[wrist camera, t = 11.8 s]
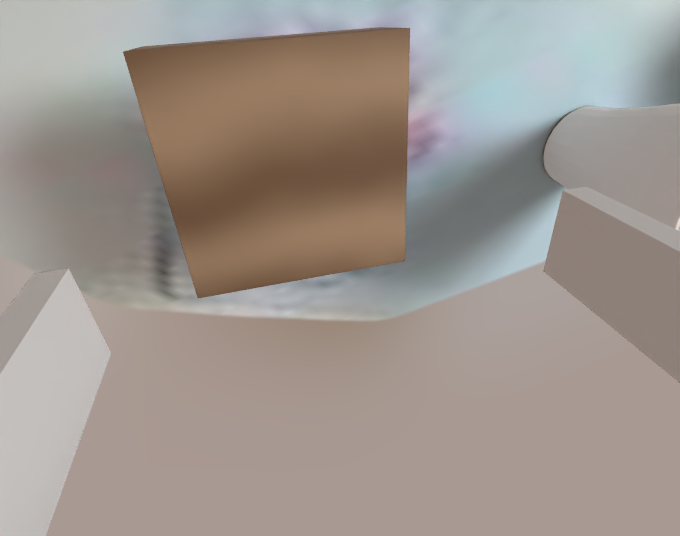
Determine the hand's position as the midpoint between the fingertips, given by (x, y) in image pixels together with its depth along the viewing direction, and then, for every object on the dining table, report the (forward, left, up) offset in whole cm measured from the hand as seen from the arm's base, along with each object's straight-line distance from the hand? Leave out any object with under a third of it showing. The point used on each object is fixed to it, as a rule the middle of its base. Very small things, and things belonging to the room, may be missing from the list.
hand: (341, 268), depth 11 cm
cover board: (0, 0, -13) cm, 13 cm away
